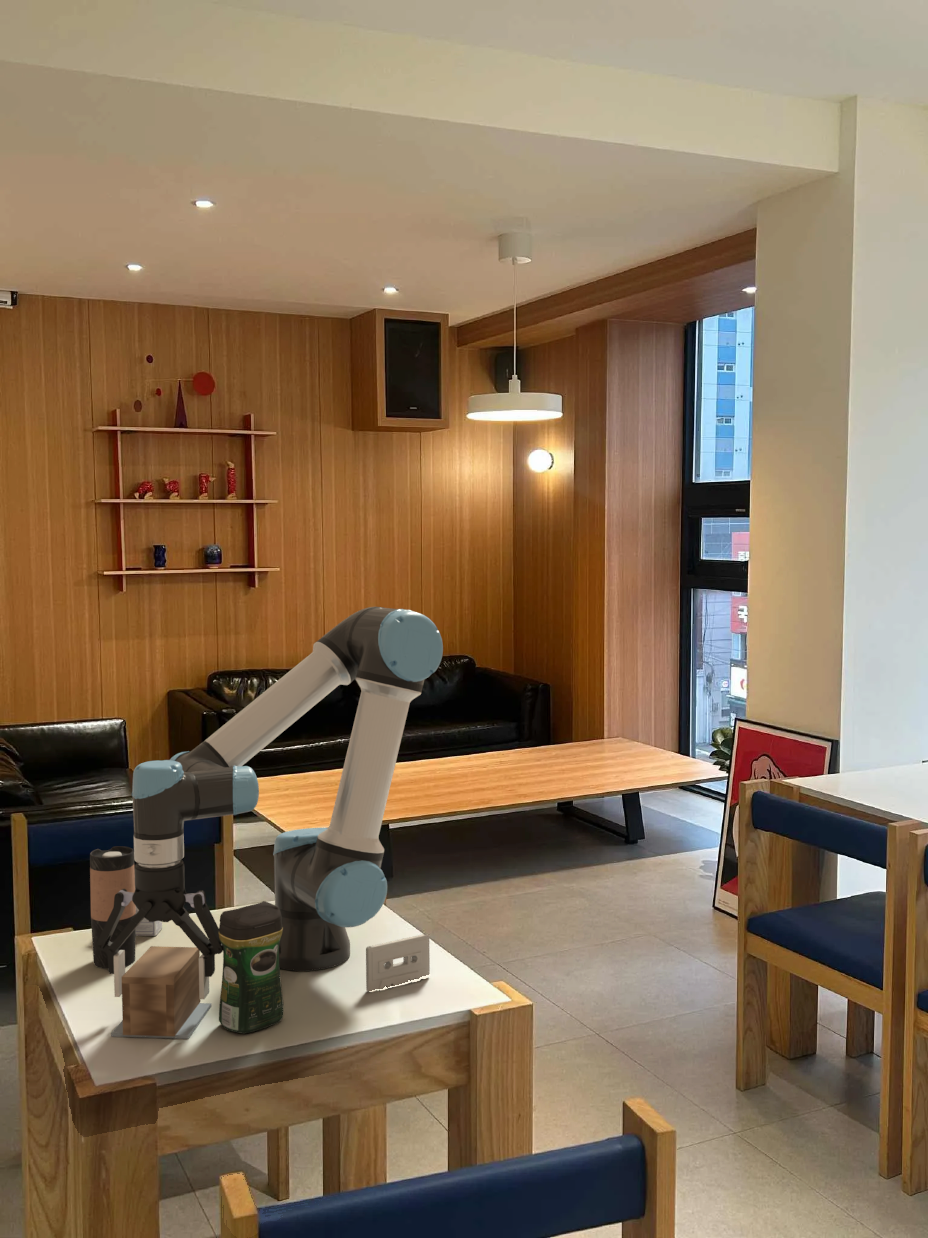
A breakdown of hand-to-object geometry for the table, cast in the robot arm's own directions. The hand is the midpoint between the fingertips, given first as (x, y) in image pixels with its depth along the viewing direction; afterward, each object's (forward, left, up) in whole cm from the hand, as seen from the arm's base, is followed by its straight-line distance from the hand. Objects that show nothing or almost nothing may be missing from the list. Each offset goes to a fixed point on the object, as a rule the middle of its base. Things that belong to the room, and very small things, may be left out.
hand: (162, 995), depth 180 cm
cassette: (-35, -17, -4) cm, 39 cm away
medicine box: (+18, -39, -4) cm, 43 cm away
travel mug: (+17, -24, -4) cm, 30 cm away
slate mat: (0, 0, -4) cm, 4 cm away
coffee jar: (-14, 0, -4) cm, 15 cm away
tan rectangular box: (0, 0, -4) cm, 4 cm away
